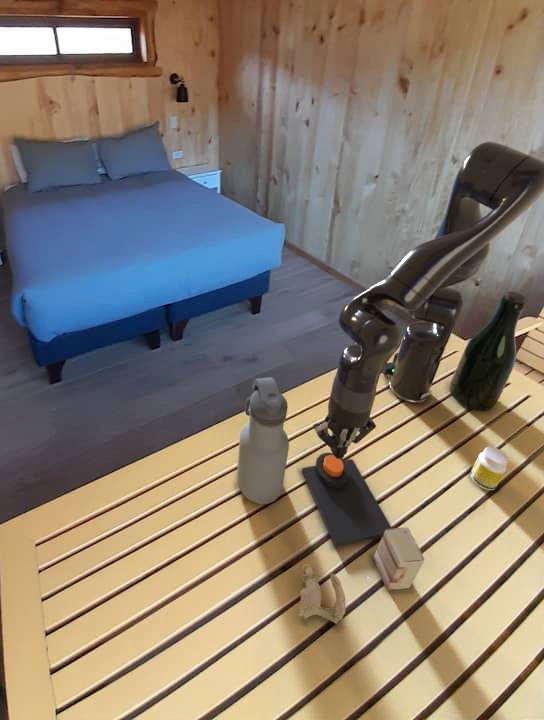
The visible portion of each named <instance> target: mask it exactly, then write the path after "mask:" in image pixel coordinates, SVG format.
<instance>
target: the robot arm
mask: <svg viewBox="0 0 544 720" xmlns="http://www.w3.org/2000/svg"><path fill="white" fill-rule="evenodd" d="M543 193H544V160H542V159H540V158H537V157H535V156H532V155H531V154H527V153H525V152H522V151H520V150H517V149H516V148H513V147H510V146H508V145H504V144H502V143H499V142H494V141H485V142H482V143H480V144H478V145H477V146H475V147H474V148H473V149H472V150H471V151H470V152H469V153H468V155H467V156H466V157H465V159H464V161H463V162H462V163H461V165H460V168H459V169H458V171H457V174H456V175H455V179H454V182H453V186H452V189H451V192H450V196H449V199H448V203H447V207H446V209H445V213H444V217H443V219H442V221H441V224H440V226H439V228H438V230H437V232H436V234H435V236H434V238H433V239H431V240H430V239H429V240H428V241H425V242H423V243H420V244H418V245H416V246H414V247H413V248H411V249H410V250H409V251H408V252H406V253H405V254H404V255H403V256H402V258H400V260H398V262H396V264H395V265H394V266H393V267H392V268H391V269H390V271H389V272H388V273H387V274H386V275H385V276H384V277H383V279H381V280H380V281H378V282H376V283H375V284H374V285H372V286H370V287H369V288H367V289H366V290H364V291H363V292H361V293H360V294H358V295H357V296H355V297H353V298H352V299H351V300H349V301H348V302H347V303H346V304H345V305H344V306H343V307H342V309H341V311H340V312H339V317H338V324H339V327H340V329H341V330H342V331H343V332H344V333H345V335H347V336H348V337H349V338H350V339H351V340H352V341H353V342H354V343H355V344H349V345H347V346H346V347H344V348H343V350H342V351H341V354H340V356H339V361H338V365H337V370H336V373H335V376H334V377H333V382H332V384H331V385H332V386H331V391H330V395H329V400H328V404H327V415H326V416H325V417H324V422H323V423H321V424H319V423H314V424H313V425H312V427H313V429H314V431H315V433H316V435H317V436H318V438H319V439H320V440H321V441H322V442H323V443H324V444H325V445H326V446H327V447H329V448H330V451H331V453H333V455H334V457H336V459H339V458H342V459H344V458H345V455H346V454H347V453H348V449H349V447H350V446H351V444H352V443H353V444H355V445H356V444H358V443H360V442H361V441H362V440H363V439H364V438H365V437H367V435H369V434H370V433H371V432H373V431H374V430H375V429H376V428H377V425H376V424H375V422H374V420H373V419H372V418H371V414H372V410H373V406H374V402H375V399H376V396H377V387H378V383H379V379H380V377H381V373H382V374H383V375H384V376H387V380H388V387H389V390H390V391H391V392H392V394H393V395H394V396H395V397H396V398H398V399H400V400H401V401H403V402H406V403H409V404H414V405H419V404H423V403H425V402H426V401H427V400H428V397H429V396H430V395H431V393H432V391H433V390H431V389H432V386H433V382H434V380H435V377H436V375H437V372H438V369H439V367H440V365H441V361H442V358H443V356H444V353H445V351H446V348H447V345H448V343H449V341H450V338H451V336H452V334H453V331H454V329H455V327H456V325H457V323H458V321H459V318H460V316H461V313H462V311H463V307H464V295H463V293H462V291H460V290H459V289H456V288H453V287H451V286H454V285H457V284H460V283H463V282H465V281H467V280H469V279H471V278H472V277H474V276H475V275H476V273H478V272H479V270H480V269H481V267H482V265H483V264H484V262H485V260H486V259H487V257H488V255H489V253H490V250H491V242H492V240H494V239H495V238H496V237H498V235H500V233H502V232H503V231H504V230H506V229H507V228H508V227H509V226H510V225H511V224H512V223H513V222H515V221H516V220H518V218H519V217H520V216H522V215H523V214H524V213H525V212H526V211H527V210H528V209H530V207H532V206H533V205H534V203H536V202H537V200H539V198H540V197H542V194H543ZM481 205H482V206H485V207H487V209H488V208H489V209H491V211H489V212H488V213H487V214H485V216H483V214H482V211H481ZM392 306H395V307H398V308H400V309H402V310H404V311H407V314H408V315H409V316H410V317H411V318H413V319H416V320H418V321H414V322H411V323H409V324H408V325H407V326H406V328H405V330H404V333H403V335H402V330H401V328H400V326H399V324H398V323H397V322H395V320H393V319H392V318H391V317H389V316H388V315H387V314H386V313H385V312H384V310H385V309H387V308H389V307H392ZM398 350H399V351H398ZM397 351H398V352H397ZM392 357H393V359H392V362H391V361H390V359H391V358H392ZM389 361H390V362H389ZM329 430H330V431H331V435H330V433H329Z"/></svg>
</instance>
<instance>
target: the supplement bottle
mask: <svg viewBox="0 0 544 720" xmlns="http://www.w3.org/2000/svg"><path fill="white" fill-rule="evenodd" d="M508 462H509V459H508V456H507V455H506V453H505V452H503V451H502V450H501V449H499V448H497V447H494V446H486V447H485V448H484V450H483V451H481V452H480V453H479V454H478V456H477V458H476V460H475V462H474V464H473V466H472V467H471V468H472V469H471V470H470V477H471V479H472V481H473V482H474V483H475V485H477V486H478V487H480V488H481V489H483V490H486V491H494V490H496V488H498V485H499V483H500V482H501V480H502V479H503V477H504V475H505V473H506V471H507V464H508Z"/></svg>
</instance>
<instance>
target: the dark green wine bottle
mask: <svg viewBox="0 0 544 720" xmlns="http://www.w3.org/2000/svg"><path fill="white" fill-rule="evenodd" d="M525 300H526V297H525V296H524V295H523V294H522V293H520V292H516V291H508V292H506V294H505V295H503V296H502V297H501V298H500V300H499V301H500V302H499V305H498V307H497V309H496V311H495V313H494V315H493V316H492V318H491V319H490V321H489V322H488V323H487V324H486V325H485V326H484V327H482V328H481V329H480V330H479V331H477V332H476V333H475V334H474V335H473V336H471V338H470V339H469V340H468V342H467V344H466V346H465V348H464V350H463V353H462V354H461V356H460V358H459V361H458V364H457V366H456V368H455V370H454V373H453V375H452V377H451V380H450V382H449V386H448V389H449V392H450V394H451V396H452V397H453V399H455V400H456V401H457V402H458V403H459V404H460V405H462V406H464V407H465V408H468V409H470V410H472V411H476V412H482V413H484V412H485V413H486V412H491V411H492V410H494V409H495V408H496V406H497V404H498V402H499V400H500V399H501V396H502V394H503V392H504V389H505V387H506V385H507V384H508V381H509V378H510V376H511V374H512V372H513V368H514V366H515V363H516V361H517V360H516V359H517V345H516V329H517V325H518V322H519V320H520V316H521V314H522V312H523V311H524V309H525V308H526V302H525Z"/></svg>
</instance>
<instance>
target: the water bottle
mask: <svg viewBox="0 0 544 720" xmlns="http://www.w3.org/2000/svg"><path fill="white" fill-rule="evenodd" d="M252 381H253V382H252V391H253V393H252V394H251V395H250V396H248V397H247V398H246V399H245V404H244V405H245V406H244V413H245V415H246V416H249V421H247V422H246V423H245V424H244V425H243V426H242V429H241V431H240V435H239V443H238V456H237V471H236V483H237V486H238V488H239V491H240V492H241V494H242V495H243V496H244V497H245V498H246V499H247V500H249V501H251V502H252V503H255V504H258V505H267V504H271V503H273V502H275V501H276V500H277V499H278V498H279V497H280V495H281V493H282V491H283V486H284V481H285V473H286V467H287V461H288V455H289V450H290V449H289V448H290V442H289V437H288V435H287V432H286V431H285V429H284V425H285V422H286V420H287V414H288V407H289V406H288V401H287V399H286V397H285V396H284V395H283V394H282V393H281V392H280V389H279V387H278V384H277V382H276V379H275V378H274V377H263V378H254V379H253V380H252Z"/></svg>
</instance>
